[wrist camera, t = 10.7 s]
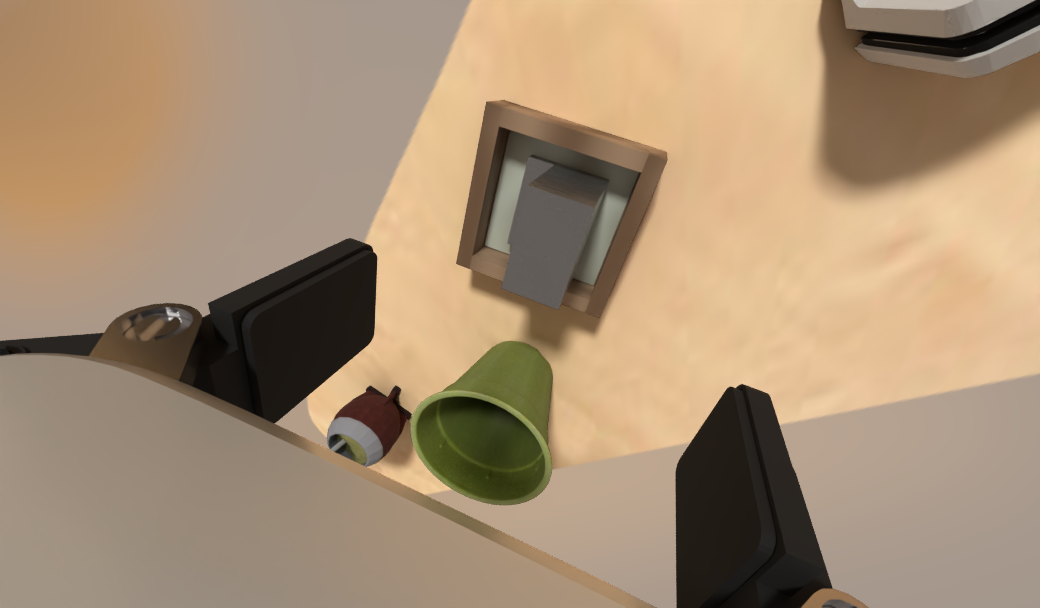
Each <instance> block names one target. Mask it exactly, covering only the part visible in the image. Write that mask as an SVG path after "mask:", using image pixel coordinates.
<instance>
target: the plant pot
mask: <svg viewBox="0 0 1040 608" xmlns="http://www.w3.org/2000/svg"><path fill="white" fill-rule="evenodd" d="M552 378H553V376H552V369H551V367H550V364H549V363H548V362H547V361H546V359H545V358H544V357H543V356H542V355H541V353H540V352H539V351H538V350H537V349H535V348H534V347H532V346H530V345H528V344H525V343H522V342H517V341H506V342H502V343H500V344H498V345H496V346H494V347H493V348H491V349H490V350H489V351H488V352H487V353H486V354H485V355H484V356H483V357H482V358H480V359H479V360H478V361H477V362H476V363H475V364H474V365H473V366H472V367H471V368H470V369H469V370H468V371H467V372H466V373H465V374H463V375H462V376H461V377H460V378H459V379H458V380H457V381H456V382H455V383H454V384H451V385H450V386H448V387H447V388H445V389H444V390H443V391H442V392H439V393H436V394H434V395H432V396H430V397H428V398H426V399H425V400H424V401H423V402H421V403H420V405H419V406H418V407H417V408H416V410H415V412H414V414H413V416H412V419H411V427H410V432H411V439H412V443H413V446H414V448H415V450H416V452H417V454H418V456H419V458H420V459H421V460H422V462H423V463H424V465H425V466H426V467H427V468H428V469H429V471H430V472H431V473H432V474H433V475H434V476H435V477H437V478H438V479H439V480H440V481H441V482H443V483H444V484H445V485H447V486H448V487H450V488H451V489H453V490H454V491H456V492H458V493H460V494H462V495H464V496H466V497H469V498H471V499H475V500H477V501H481V502H484V503H489V504H494V505H514V504H520V503H523V502H527V501H529V500H531V499H533V498H535V497H537V496H538V495H539V494H540V493H541V492H542V491H543V490H544V489H545V488H546V486H547V485H548V483H549V481H550V477H551V473H552V458H551V454H550V451H549V448H548V433H547V427H548V418H549V408H550V398H551V388H552Z"/></svg>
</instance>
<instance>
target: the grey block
mask: <svg viewBox="0 0 1040 608" xmlns="http://www.w3.org/2000/svg"><path fill="white" fill-rule="evenodd" d="M608 183H609V179H606V178H603V177H600V176H597V175H594V174H591V173H588V172H585V171H582V170H578V169H575V168H572V167H569V166H566V165H563V164H560V163H557V162H554V161H551V160H548V159H545V158H542V157H539V156H536V155H533V154H532V155H530V156H528V160H527V164H526V168H525V172H524V176H523V180H522V184H521V189H520V193H519V197H518V201H517V205H516V209H515V213H514V217H513V221H512V225H511V229H510V233H509V237H508V241H507V244H510V245H512V248H511V252H510V256H509V260H508V264H507V268H506V272H505V275H504V279H503V283H502V287H501V289H504V290H507V291H509V292H512V293H515V294H517V295H520V296H523V297H525V298H528V299H531V300H533V301H536V302H538V303H541V304H544V305H546V306H549V307H552V308H554V309H557V310H558V309H559V307H560V305H561V303H562V301H563V298H564V296H565V294H566V292H567V290H568V287H569V285H570V283H571V281H572V279H573V276H574V274H575V272H576V270H577V268H578V265H579V263H580V260H581V257H582V255H583V252H584V249H585V246H586V244H587V241H588V238H589V235H590V232H591V230H592V227H593V224H594V221H595V219H596V216H597V213H598V210H599V207H600V205H601V202H602V199H603V196H604V194H605V191H606V188H607V185H608Z"/></svg>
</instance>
